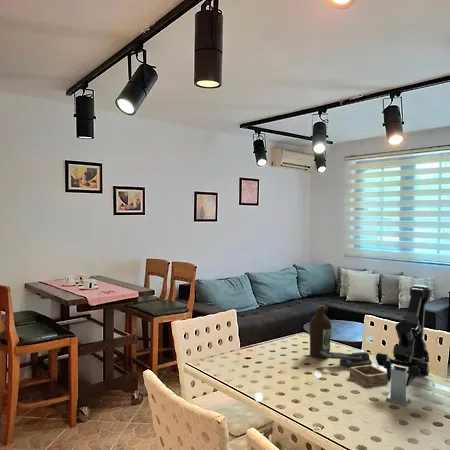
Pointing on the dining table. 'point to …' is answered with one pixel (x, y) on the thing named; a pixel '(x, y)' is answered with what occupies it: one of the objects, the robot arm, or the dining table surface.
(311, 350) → the olive oil
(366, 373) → the well
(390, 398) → the bracket post
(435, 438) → the dining table surface
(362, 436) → the dining table surface
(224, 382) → the dining table surface
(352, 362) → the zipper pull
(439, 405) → the dining table surface
